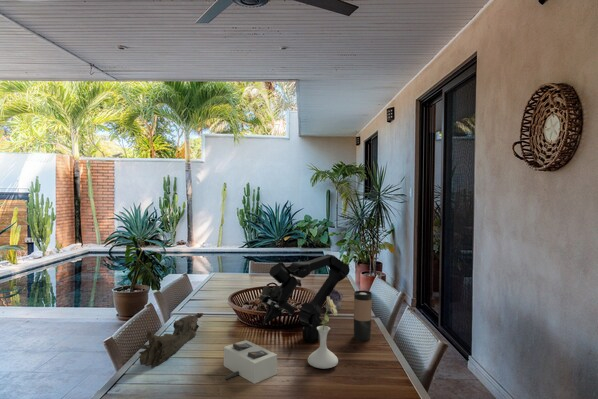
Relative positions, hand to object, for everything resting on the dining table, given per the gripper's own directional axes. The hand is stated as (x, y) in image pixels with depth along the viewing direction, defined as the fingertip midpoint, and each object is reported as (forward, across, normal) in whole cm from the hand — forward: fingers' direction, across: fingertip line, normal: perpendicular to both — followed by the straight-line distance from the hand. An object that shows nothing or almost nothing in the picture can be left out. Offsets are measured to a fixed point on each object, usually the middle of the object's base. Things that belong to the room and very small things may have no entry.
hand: (264, 323), depth 155 cm
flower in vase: (+1, +18, +20) cm, 27 cm away
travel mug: (-20, +8, +42) cm, 47 cm away
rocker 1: (+12, +4, -5) cm, 14 cm away
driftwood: (+26, -26, -12) cm, 38 cm away
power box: (+19, +8, -2) cm, 20 cm away
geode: (-34, -34, +54) cm, 72 cm away
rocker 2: (+12, +12, -4) cm, 17 cm away
